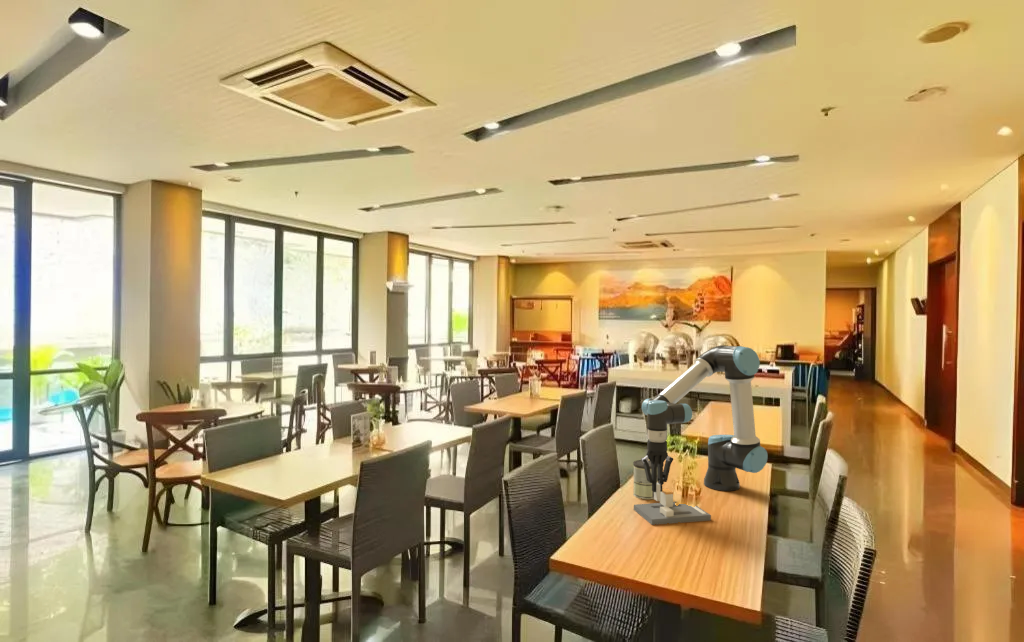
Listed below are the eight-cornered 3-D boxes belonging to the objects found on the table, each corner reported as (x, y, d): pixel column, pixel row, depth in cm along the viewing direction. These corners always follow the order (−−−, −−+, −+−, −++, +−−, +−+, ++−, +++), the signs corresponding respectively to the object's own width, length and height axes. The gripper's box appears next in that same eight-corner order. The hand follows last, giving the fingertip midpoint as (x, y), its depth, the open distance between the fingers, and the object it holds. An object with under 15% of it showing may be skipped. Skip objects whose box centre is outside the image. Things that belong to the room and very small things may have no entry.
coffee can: (631, 491, 238) (631, 459, 238) (655, 492, 237) (655, 460, 237) (634, 499, 227) (634, 465, 227) (659, 500, 226) (659, 466, 226)
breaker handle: (666, 502, 216) (666, 488, 216) (672, 506, 211) (673, 492, 211) (659, 502, 216) (660, 488, 216) (665, 507, 211) (665, 492, 211)
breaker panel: (688, 505, 220) (689, 495, 220) (710, 520, 204) (710, 509, 204) (633, 509, 215) (633, 499, 215) (651, 524, 199) (651, 514, 199)
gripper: (645, 443, 208) (645, 504, 208) (677, 441, 210) (676, 502, 210) (637, 438, 215) (637, 497, 215) (668, 437, 217) (667, 495, 218)
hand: (657, 499), depth 213 cm, fingers closed
